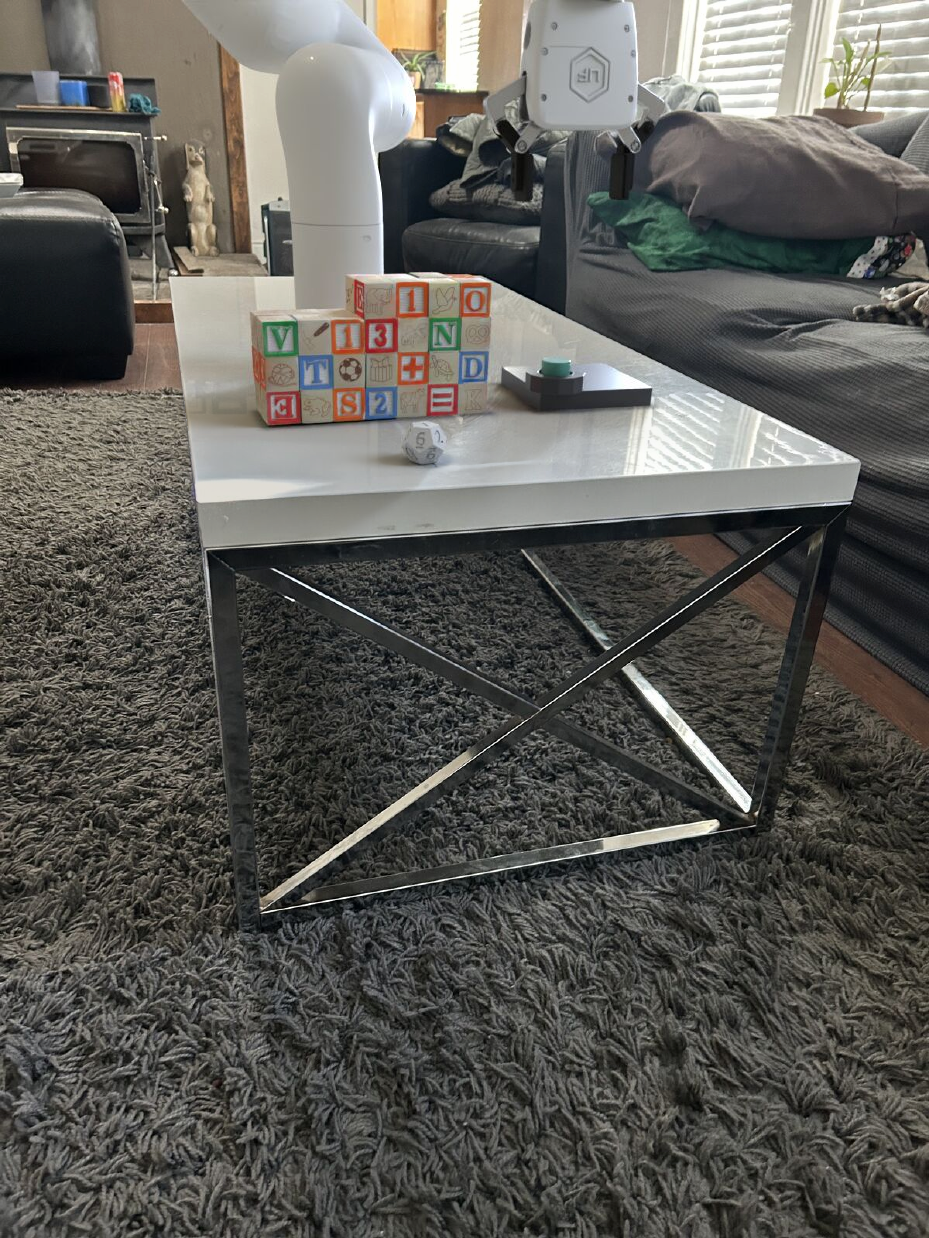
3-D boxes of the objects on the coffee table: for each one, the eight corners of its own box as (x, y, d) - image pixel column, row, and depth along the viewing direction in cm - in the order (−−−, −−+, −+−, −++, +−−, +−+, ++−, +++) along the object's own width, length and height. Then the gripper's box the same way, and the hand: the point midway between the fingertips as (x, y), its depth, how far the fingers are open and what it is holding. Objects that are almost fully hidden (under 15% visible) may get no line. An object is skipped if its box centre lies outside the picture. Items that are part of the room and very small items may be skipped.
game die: (413, 469, 76) (413, 432, 75) (395, 456, 79) (395, 420, 78) (453, 464, 78) (453, 428, 76) (434, 452, 81) (435, 417, 79)
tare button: (547, 379, 92) (548, 363, 92) (536, 373, 95) (537, 357, 94) (573, 378, 93) (575, 362, 92) (563, 372, 95) (564, 356, 95)
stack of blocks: (266, 428, 86) (257, 284, 80) (255, 411, 91) (245, 274, 85) (488, 413, 93) (493, 279, 87) (465, 398, 98) (469, 271, 92)
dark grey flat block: (536, 416, 92) (538, 379, 91) (493, 385, 104) (494, 352, 102) (656, 410, 96) (660, 374, 94) (602, 380, 107) (605, 348, 105)
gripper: (499, -27, 77) (496, 203, 85) (692, -18, 81) (673, 201, 89) (472, -13, 84) (472, 200, 91) (652, -5, 88) (637, 198, 95)
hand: (571, 200), depth 90 cm, fingers open, 9 cm apart
